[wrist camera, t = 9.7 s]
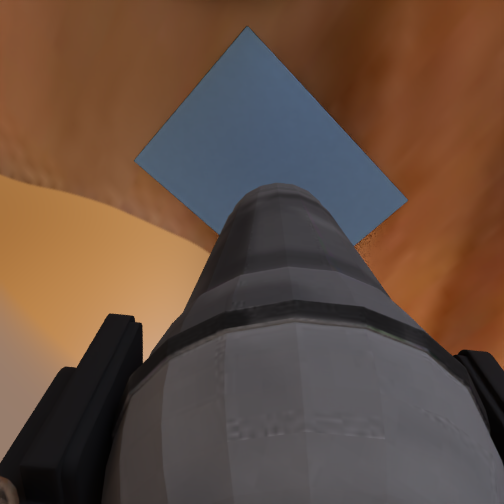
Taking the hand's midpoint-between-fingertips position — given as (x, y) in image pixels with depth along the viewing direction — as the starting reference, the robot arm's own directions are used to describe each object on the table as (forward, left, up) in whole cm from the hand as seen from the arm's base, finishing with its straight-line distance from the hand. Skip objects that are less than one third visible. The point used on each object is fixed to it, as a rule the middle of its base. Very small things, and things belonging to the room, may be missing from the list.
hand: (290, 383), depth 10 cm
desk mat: (-2, +1, -25) cm, 25 cm away
